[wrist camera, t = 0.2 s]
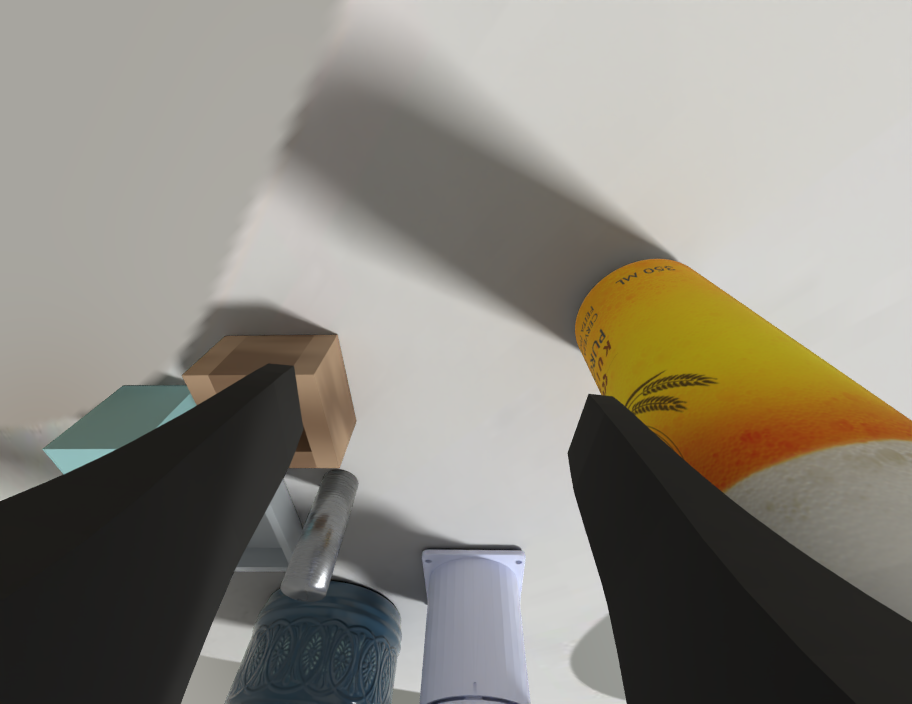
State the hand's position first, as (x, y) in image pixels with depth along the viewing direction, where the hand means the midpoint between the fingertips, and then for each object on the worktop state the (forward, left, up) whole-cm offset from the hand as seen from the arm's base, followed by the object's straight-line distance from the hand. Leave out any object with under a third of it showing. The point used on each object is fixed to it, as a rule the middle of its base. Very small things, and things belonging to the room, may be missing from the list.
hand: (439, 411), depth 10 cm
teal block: (-9, +17, -10) cm, 22 cm away
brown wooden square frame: (-6, +9, -10) cm, 15 cm away
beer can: (-2, -9, -10) cm, 14 cm away
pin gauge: (-15, +8, -10) cm, 20 cm away
